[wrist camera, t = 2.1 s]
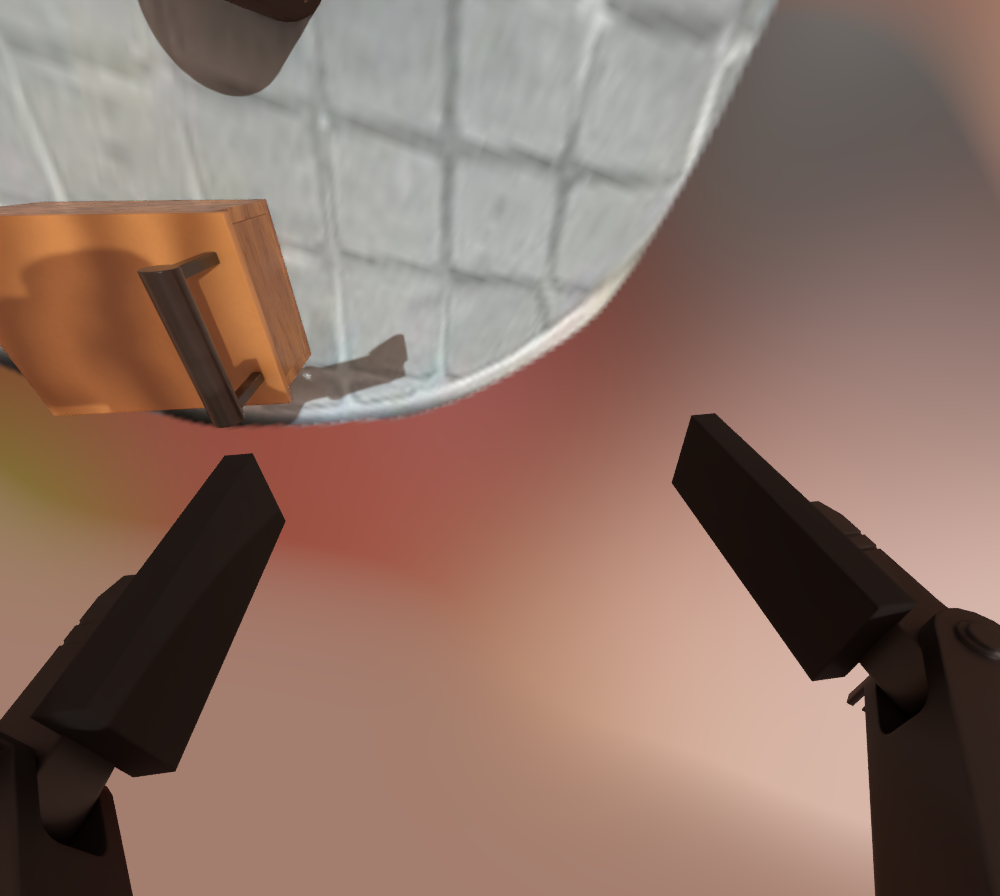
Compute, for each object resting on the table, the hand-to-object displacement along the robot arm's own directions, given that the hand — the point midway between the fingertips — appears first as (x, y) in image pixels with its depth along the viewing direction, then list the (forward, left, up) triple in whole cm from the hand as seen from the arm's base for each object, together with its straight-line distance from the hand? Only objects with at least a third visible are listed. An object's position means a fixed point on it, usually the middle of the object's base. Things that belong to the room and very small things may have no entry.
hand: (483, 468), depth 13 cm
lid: (-15, -16, -20) cm, 30 cm away
